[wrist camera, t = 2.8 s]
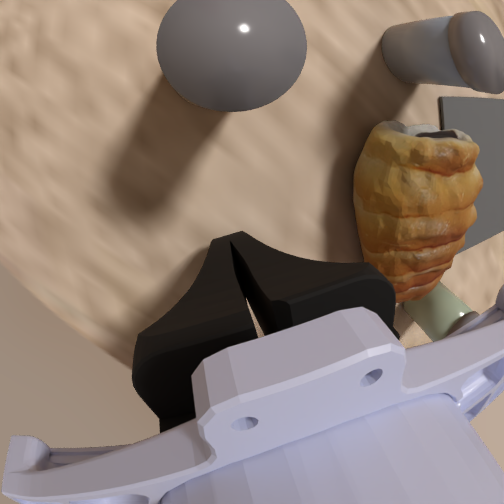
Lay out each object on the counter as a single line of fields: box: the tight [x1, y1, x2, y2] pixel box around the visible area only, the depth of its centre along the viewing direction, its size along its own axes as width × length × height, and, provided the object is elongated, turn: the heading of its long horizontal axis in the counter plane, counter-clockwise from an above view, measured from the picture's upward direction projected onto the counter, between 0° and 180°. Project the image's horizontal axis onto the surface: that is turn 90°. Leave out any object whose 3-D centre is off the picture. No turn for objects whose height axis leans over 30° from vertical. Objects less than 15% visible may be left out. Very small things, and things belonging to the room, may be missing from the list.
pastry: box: [352, 120, 483, 303], centre depth 12 cm, size 9×7×4 cm
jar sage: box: [404, 281, 479, 342], centre depth 15 cm, size 3×3×5 cm
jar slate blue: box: [382, 11, 504, 94], centre depth 8 cm, size 3×3×5 cm
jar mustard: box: [157, 0, 307, 112], centre depth 7 cm, size 3×3×5 cm
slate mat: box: [440, 97, 504, 255], centre depth 14 cm, size 10×10×1 cm
